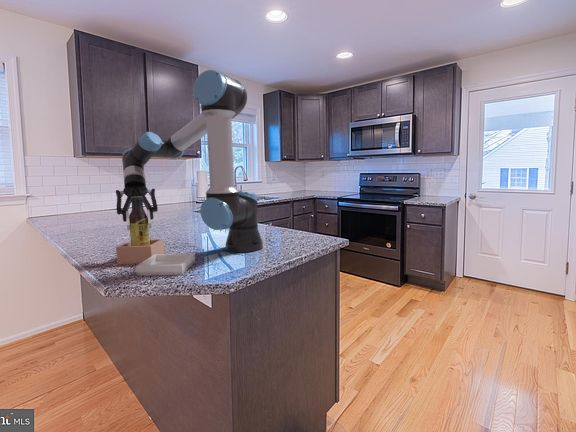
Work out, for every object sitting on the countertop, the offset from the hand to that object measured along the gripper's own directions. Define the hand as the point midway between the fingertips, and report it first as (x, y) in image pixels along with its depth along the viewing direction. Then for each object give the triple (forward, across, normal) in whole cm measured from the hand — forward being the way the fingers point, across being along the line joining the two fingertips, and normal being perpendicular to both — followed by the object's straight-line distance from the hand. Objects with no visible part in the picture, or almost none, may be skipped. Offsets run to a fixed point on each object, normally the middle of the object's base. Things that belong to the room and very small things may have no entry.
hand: (139, 226), depth 111 cm
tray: (+19, -7, +1) cm, 20 cm away
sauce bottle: (+4, 0, -9) cm, 10 cm away
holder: (+6, 0, -11) cm, 13 cm away
